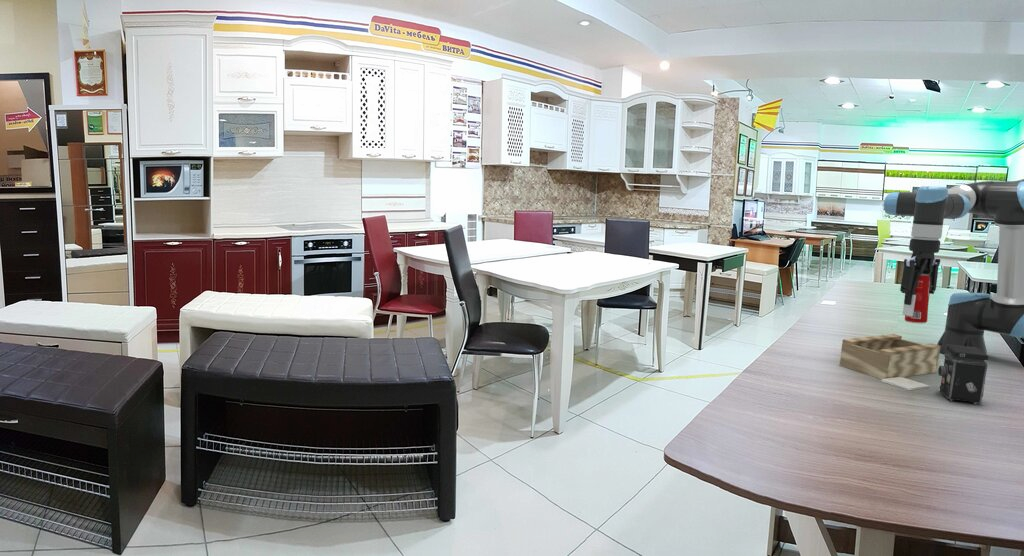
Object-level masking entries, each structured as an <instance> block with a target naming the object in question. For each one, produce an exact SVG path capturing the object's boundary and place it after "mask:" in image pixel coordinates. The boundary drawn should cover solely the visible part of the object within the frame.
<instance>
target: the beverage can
mask: <svg viewBox="0 0 1024 556" xmlns="http://www.w3.org/2000/svg"><path fill="white" fill-rule="evenodd" d="M929 287H930V277H929V274H924V273H921V275H920V278H919V281H918V284H917V287H916V290H915V292H914V295H916V299H915V306H914V313H913V316H908V315H904V321H905V322H906V323H911V324H919V325H920V324H926V323H927V322H928V317H929V316H928V315H929V313H928V312H929V301H930V296H929Z"/></svg>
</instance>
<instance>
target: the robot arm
mask: <svg viewBox="0 0 1024 556" xmlns="http://www.w3.org/2000/svg"><path fill="white" fill-rule="evenodd" d="M883 209H884V213H886V214H887V215H889V216H896V217H898V216H899V217H913V220H912V226H911V231H910V232H911V233H910V236H911V237H912V238H910V240H909V244H908V245H909V247H908V249H909V251H911V252H912V253H911V256H910V258H905V259H904V260H903V270H902V271H903V272H902V278H901V283H900V287H899V290H900V293H902V294H904V300H903V308H902V315H903V316H905V315H908V316H913V313H914V306H915V299H916V295H914V292H915V290H916V287H917V284H918V281H919V278H920V275H921V273H924V274H929V277H930V287H929V297H930V295H935V292H936V290H937V285H938V284H937V283H938V276H939V275H938V274H939V267H940V263H941V259H940V258H935V254H937V253H939V252H940V248H941V241H940V240H939V239H941V238H942V236H943V235H942V234H943V228H944V221H945V220H946V219H948V220H957V219H960V218H963V217H965V216H967V214H974V215H981V216H992V217H993V223H994V224H995V225H996V226H998V227H999V231H998V234H999V235H998V256H997V257H998V258H997V278H996V279H997V281H996V283H997V284H996V293H995V294H992V295H991V294H989V293H985V292H984V293H983V292H954V293H952V294H951V295H950V298H949V301H948V305H947V306H948V307H947V312H946V313H947V315H946V321H945V326H944V327H945V328H944V332H943V333H942V335H941V337H940V338H939V340H938V342H937V344H936V345H939V346H940V353H941V354H944V355H945V347H946V345H957V346H967V347H975V348H979V349H980V350H982V351H983V352H984V353H986V354H987V353H988V352H987V346H986V341H985V337H984V334H985V331H986V332H990V333H991V332H992V333H996V334H1001V335H1004V336H1005V335H1006V336H1010V337H1014V338H1015V337H1016V338H1021V339H1024V181H1023V180H1022V181H1021V180H1019V181H1017V180H1016V181H1015V180H1014V181H1013V180H1012V181H1011V180H1010V181H1008V180H1007V181H1006V180H1005V181H1004V180H1002V181H1001V180H1000V181H995V180H994V181H993V180H986V181H978V182H971V183H965V184H957V185H955V186H952V187H951V188H947V187H946V186H934V185H933V186H932V185H931V186H930V185H929V186H925V185H923V186H920V187H918V189H917V191H908V192H906V191H902V192H901V191H897V192H895V191H892V192H890V193H887V195H886V196H885V197H884V200H883ZM987 355H988V354H987Z"/></svg>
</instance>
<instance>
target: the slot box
mask: <svg viewBox="0 0 1024 556" xmlns="http://www.w3.org/2000/svg"><path fill="white" fill-rule="evenodd" d="M902 337H903V336H902V335H898V334H895V333H891V334H884V335H883V334H882V335H873V336H865V337H863V336H862V337H855V338H854V337H853V338H845V339H844V338H843V339H842V344H841V349H840V350H841V352H840V357H839V358H840V361H839V366H840V367H844V368H847V369H850V370H854V371H856V372H859V373H862V374H865V375H868V376H872V377H875V378H877V379H880V380H881V379H887V378H894V377H903V378H906V377H913V376H919V375H925V374H932V373H933V374H934V373H938V367H939V365H938V364H939V359H940V353H941V352H940V346H939V345H937V344H934V343H925V344H923V343H919V342H916V341H915V342H914V341H911V340H908V339H904V338H902Z"/></svg>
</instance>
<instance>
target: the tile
mask: <svg viewBox="0 0 1024 556" xmlns="http://www.w3.org/2000/svg"><path fill="white" fill-rule="evenodd" d="M880 382H882V383H885V384H888V385H892V386H894V387H898V388H902V389H903V390H907V391H914V390H921V389H927V388H929V387H930V385H929V384H926V383H923V382H922V383H921V382H918V381H916V380H913V379H909V378H906V377H894V378H887V379H880Z"/></svg>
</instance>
